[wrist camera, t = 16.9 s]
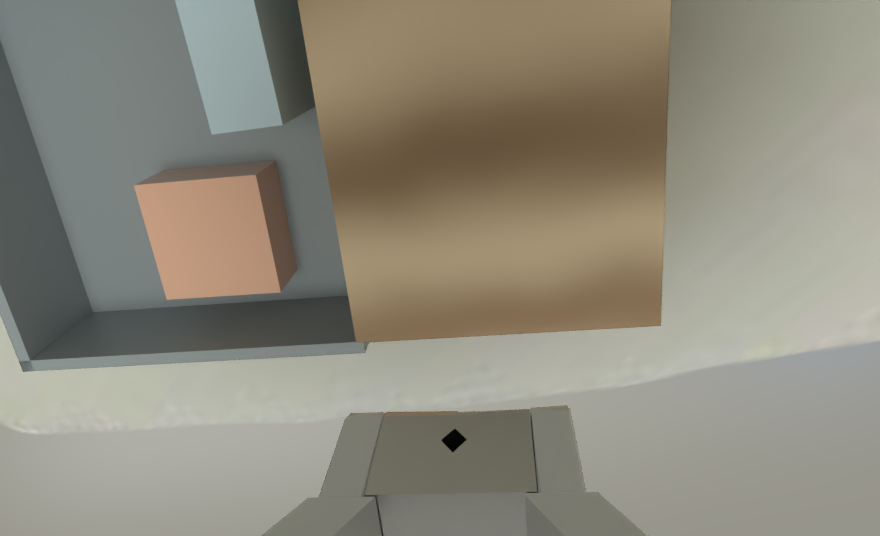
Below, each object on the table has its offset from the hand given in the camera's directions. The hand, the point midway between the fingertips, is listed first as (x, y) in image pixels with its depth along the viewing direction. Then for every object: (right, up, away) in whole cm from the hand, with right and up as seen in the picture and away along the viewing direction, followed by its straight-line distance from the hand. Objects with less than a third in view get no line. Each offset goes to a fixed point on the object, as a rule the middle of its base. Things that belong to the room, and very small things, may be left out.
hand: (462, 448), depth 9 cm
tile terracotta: (-10, +4, +17) cm, 20 cm away
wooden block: (+2, +9, +17) cm, 19 cm away
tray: (-11, +8, +18) cm, 23 cm away
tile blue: (-6, +11, +14) cm, 18 cm away
